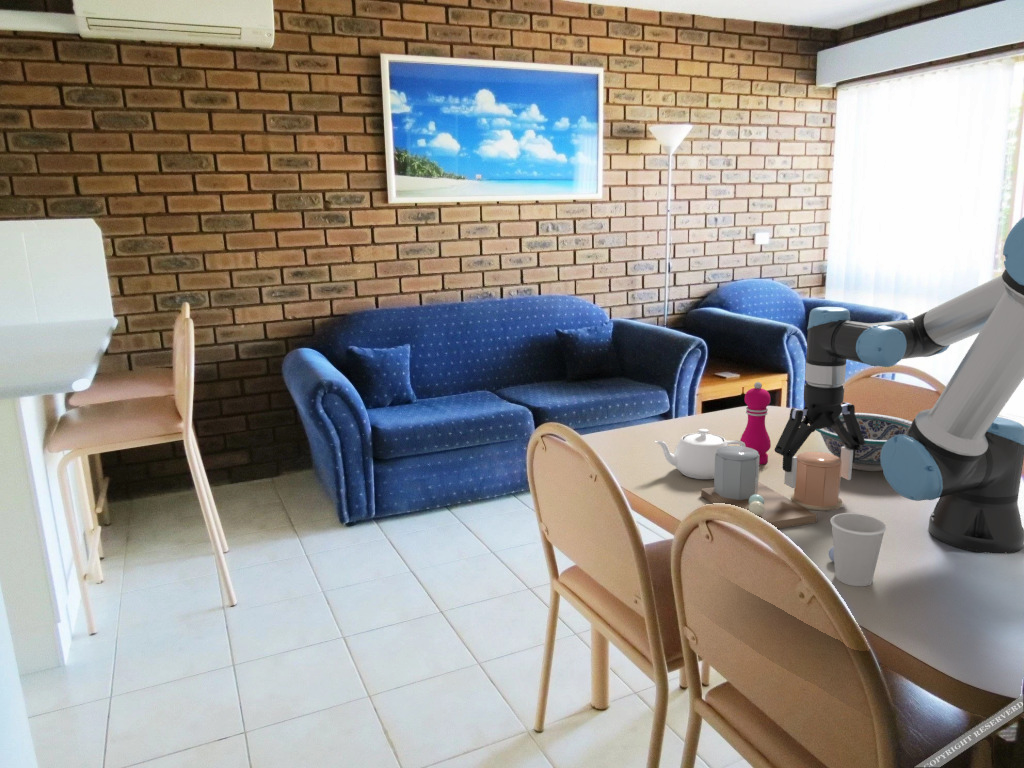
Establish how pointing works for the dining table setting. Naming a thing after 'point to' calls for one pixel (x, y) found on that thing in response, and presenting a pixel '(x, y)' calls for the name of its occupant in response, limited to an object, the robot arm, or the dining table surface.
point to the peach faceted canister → (818, 479)
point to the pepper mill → (757, 422)
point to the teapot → (697, 453)
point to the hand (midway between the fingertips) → (817, 481)
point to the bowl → (867, 438)
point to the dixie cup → (856, 547)
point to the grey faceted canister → (736, 472)
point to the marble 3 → (831, 554)
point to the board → (769, 507)
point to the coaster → (818, 506)
